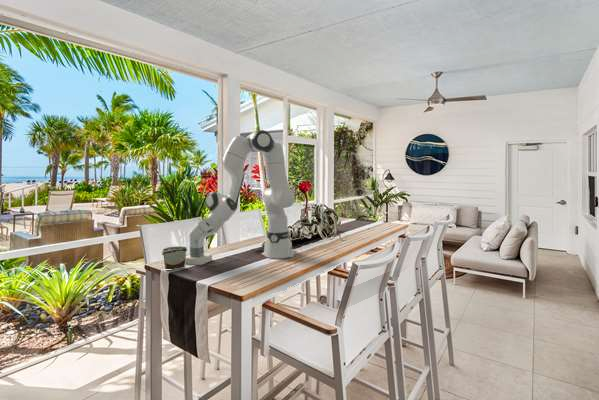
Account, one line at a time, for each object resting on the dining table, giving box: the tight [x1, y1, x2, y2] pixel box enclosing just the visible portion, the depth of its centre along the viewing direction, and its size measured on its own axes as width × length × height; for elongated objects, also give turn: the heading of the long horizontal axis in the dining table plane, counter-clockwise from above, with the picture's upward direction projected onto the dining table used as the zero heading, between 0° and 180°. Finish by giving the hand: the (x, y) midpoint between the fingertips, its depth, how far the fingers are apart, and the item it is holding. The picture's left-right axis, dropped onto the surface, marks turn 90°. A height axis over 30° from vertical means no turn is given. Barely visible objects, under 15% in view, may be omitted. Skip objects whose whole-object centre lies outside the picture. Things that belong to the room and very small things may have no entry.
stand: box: [185, 253, 213, 266], centre depth 184 cm, size 11×11×3 cm
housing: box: [189, 237, 205, 258], centre depth 184 cm, size 5×5×11 cm
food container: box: [161, 246, 188, 270], centre depth 172 cm, size 12×6×10 cm, turn 135°
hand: (195, 241), depth 184 cm, fingers closed on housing, 5 cm apart
